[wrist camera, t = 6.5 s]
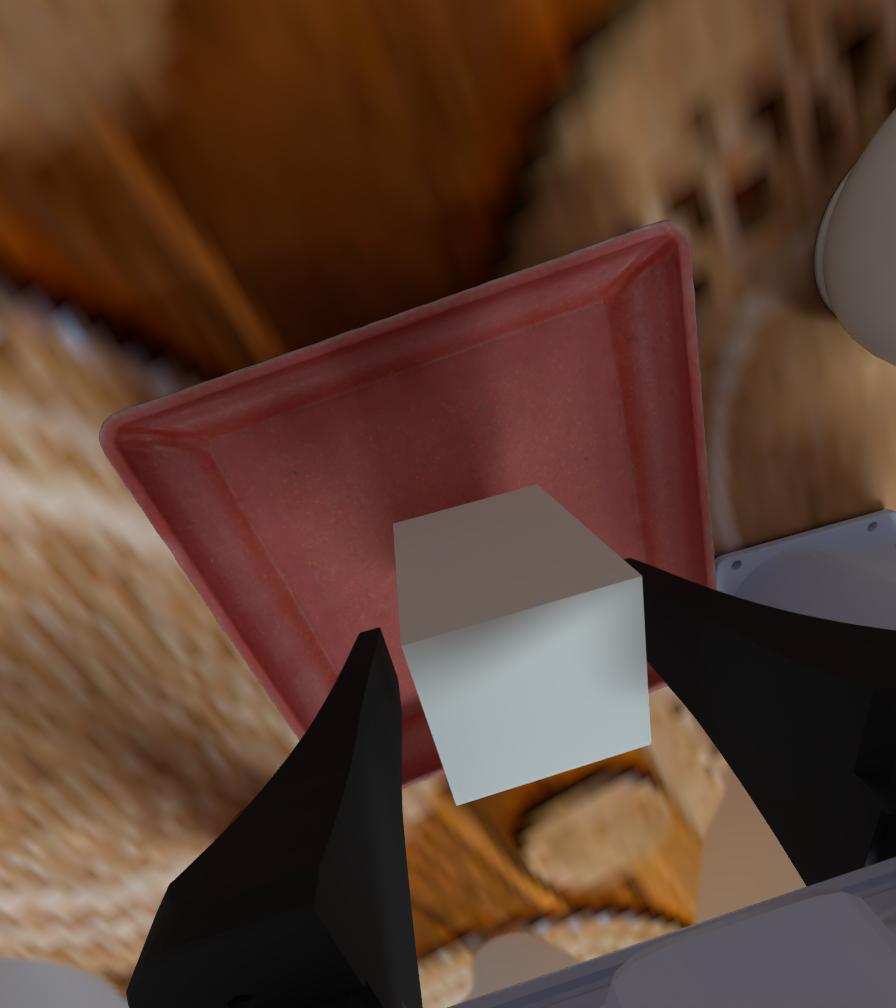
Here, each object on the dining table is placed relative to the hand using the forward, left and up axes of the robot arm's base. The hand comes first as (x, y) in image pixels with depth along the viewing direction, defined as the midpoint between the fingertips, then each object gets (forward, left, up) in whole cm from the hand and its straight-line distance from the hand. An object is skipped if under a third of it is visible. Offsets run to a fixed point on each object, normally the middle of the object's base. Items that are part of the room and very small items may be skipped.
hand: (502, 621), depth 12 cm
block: (0, 0, -3) cm, 3 cm away
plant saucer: (0, 0, -6) cm, 6 cm away
